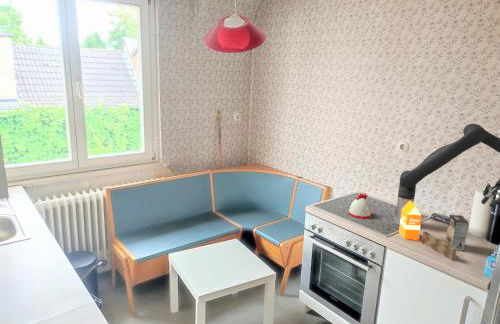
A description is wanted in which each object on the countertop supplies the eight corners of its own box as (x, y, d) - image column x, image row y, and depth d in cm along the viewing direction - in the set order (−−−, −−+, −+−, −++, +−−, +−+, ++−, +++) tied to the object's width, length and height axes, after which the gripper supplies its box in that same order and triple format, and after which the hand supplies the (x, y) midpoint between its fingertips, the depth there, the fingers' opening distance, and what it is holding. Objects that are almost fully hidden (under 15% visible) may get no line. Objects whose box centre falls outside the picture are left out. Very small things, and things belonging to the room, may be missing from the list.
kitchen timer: (375, 217, 220) (377, 195, 216) (356, 219, 216) (358, 197, 213) (362, 210, 233) (364, 189, 229) (344, 211, 229) (346, 190, 226)
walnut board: (421, 242, 187) (423, 231, 186) (424, 241, 188) (426, 231, 186) (451, 260, 168) (453, 249, 167) (454, 259, 169) (456, 248, 167)
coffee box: (444, 241, 188) (449, 214, 184) (457, 242, 187) (462, 215, 183) (450, 249, 179) (455, 220, 176) (464, 250, 178) (469, 222, 174)
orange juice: (412, 233, 198) (416, 200, 194) (418, 239, 190) (423, 206, 185) (398, 232, 199) (402, 199, 194) (404, 239, 190) (408, 205, 185)
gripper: (492, 173, 188) (471, 196, 188) (518, 181, 175) (495, 205, 174) (498, 182, 191) (477, 204, 190) (524, 190, 177) (502, 214, 177)
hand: (486, 204), depth 182 cm, fingers open, 4 cm apart
